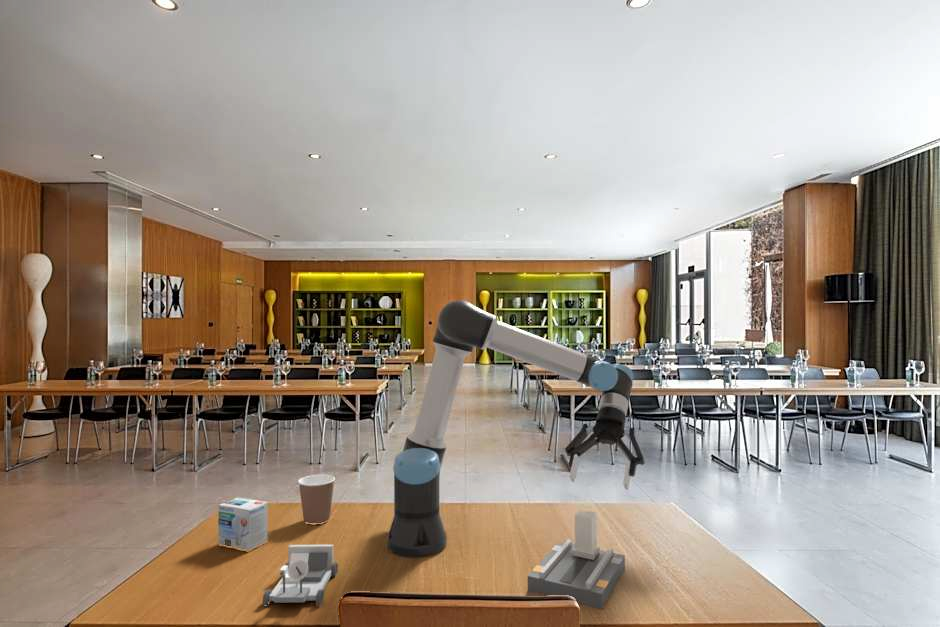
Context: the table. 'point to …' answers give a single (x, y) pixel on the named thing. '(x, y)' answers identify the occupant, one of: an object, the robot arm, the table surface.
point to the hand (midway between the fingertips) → (598, 483)
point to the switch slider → (586, 535)
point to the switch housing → (577, 575)
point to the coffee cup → (316, 497)
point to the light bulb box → (242, 523)
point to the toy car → (304, 574)
